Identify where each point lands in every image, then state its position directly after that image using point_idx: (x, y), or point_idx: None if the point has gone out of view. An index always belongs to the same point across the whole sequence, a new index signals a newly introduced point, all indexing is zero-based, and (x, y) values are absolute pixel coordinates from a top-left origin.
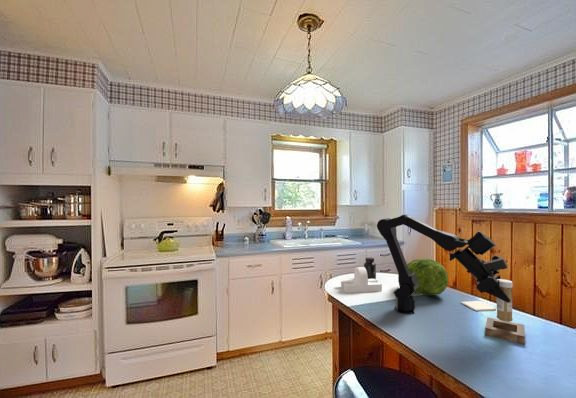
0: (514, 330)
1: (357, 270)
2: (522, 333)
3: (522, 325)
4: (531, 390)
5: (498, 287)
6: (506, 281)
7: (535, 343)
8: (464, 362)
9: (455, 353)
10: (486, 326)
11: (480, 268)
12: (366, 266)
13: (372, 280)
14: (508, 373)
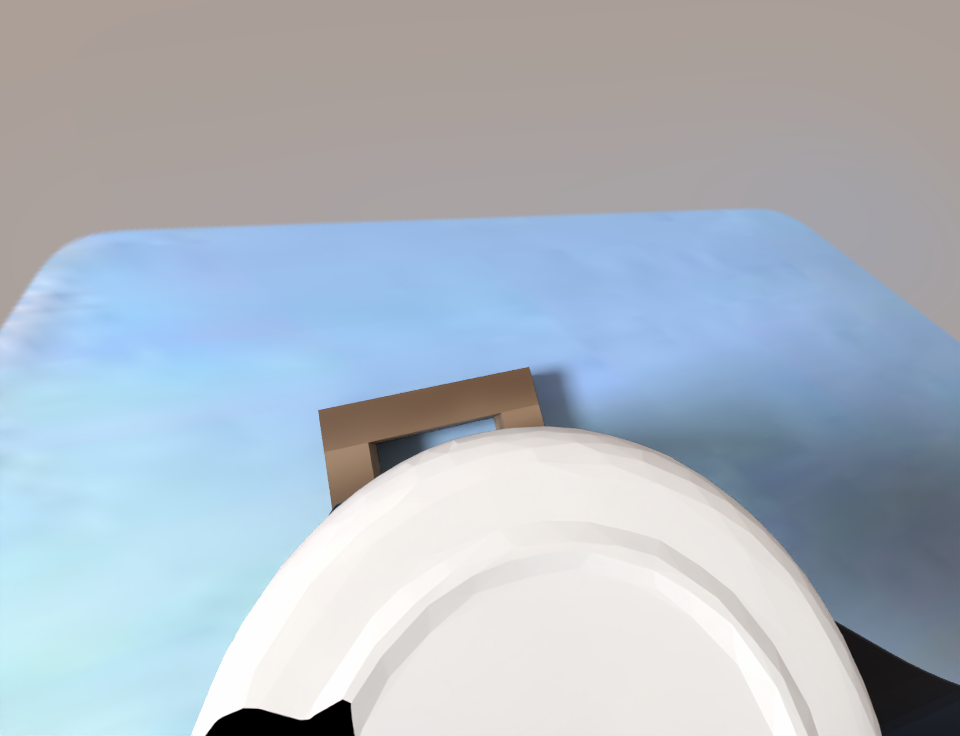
0: (377, 457)
1: None
2: (492, 386)
3: (341, 416)
4: (873, 291)
5: (938, 689)
6: (675, 664)
7: (462, 343)
8: (925, 516)
9: (897, 582)
10: None
11: None
12: None
13: None
14: (843, 365)
